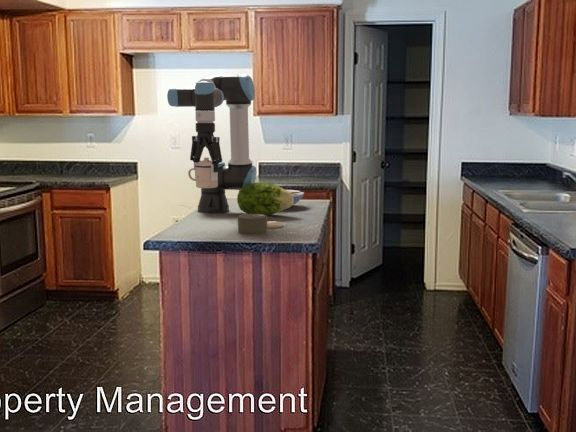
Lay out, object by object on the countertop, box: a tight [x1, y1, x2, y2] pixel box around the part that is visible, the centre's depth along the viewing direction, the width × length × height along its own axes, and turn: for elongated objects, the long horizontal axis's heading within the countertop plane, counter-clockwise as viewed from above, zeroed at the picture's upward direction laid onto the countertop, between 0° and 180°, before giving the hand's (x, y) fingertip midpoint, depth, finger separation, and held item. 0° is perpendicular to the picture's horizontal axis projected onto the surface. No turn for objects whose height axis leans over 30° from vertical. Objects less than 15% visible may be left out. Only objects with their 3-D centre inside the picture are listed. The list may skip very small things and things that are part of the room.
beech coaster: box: [267, 220, 284, 229], centre depth 264 cm, size 10×10×1 cm
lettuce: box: [236, 182, 294, 216], centre depth 289 cm, size 15×27×16 cm, turn 80°
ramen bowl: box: [286, 189, 307, 206], centre depth 315 cm, size 25×23×8 cm
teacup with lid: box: [187, 156, 218, 189], centre depth 247 cm, size 12×9×12 cm
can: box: [237, 213, 268, 236], centre depth 250 cm, size 12×12×7 cm
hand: (206, 179), depth 247 cm, fingers closed on teacup with lid, 9 cm apart
